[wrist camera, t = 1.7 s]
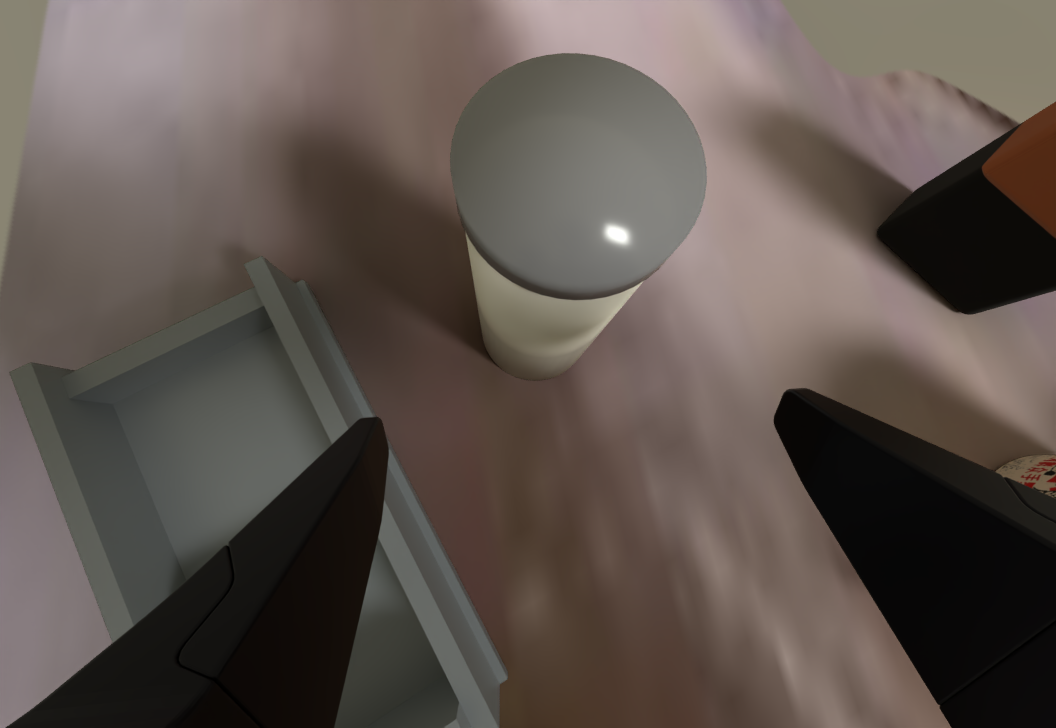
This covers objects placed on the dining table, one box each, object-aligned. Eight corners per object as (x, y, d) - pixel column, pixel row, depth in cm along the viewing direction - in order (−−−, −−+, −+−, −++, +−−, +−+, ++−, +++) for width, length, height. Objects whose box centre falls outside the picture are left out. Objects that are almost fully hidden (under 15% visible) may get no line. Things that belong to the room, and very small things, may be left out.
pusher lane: (507, 671, 19) (509, 741, 14) (267, 833, 17) (184, 969, 13) (308, 284, 22) (257, 240, 17) (86, 390, 20) (-34, 372, 16)
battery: (962, 320, 24) (1287, 229, 14) (868, 234, 24) (1115, 89, 15) (1005, 271, 24) (1341, 152, 15) (912, 189, 25) (1174, 23, 15)
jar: (582, 390, 22) (699, 302, 9) (471, 373, 21) (427, 260, 9) (594, 286, 23) (713, 76, 10) (489, 269, 23) (474, 34, 10)
